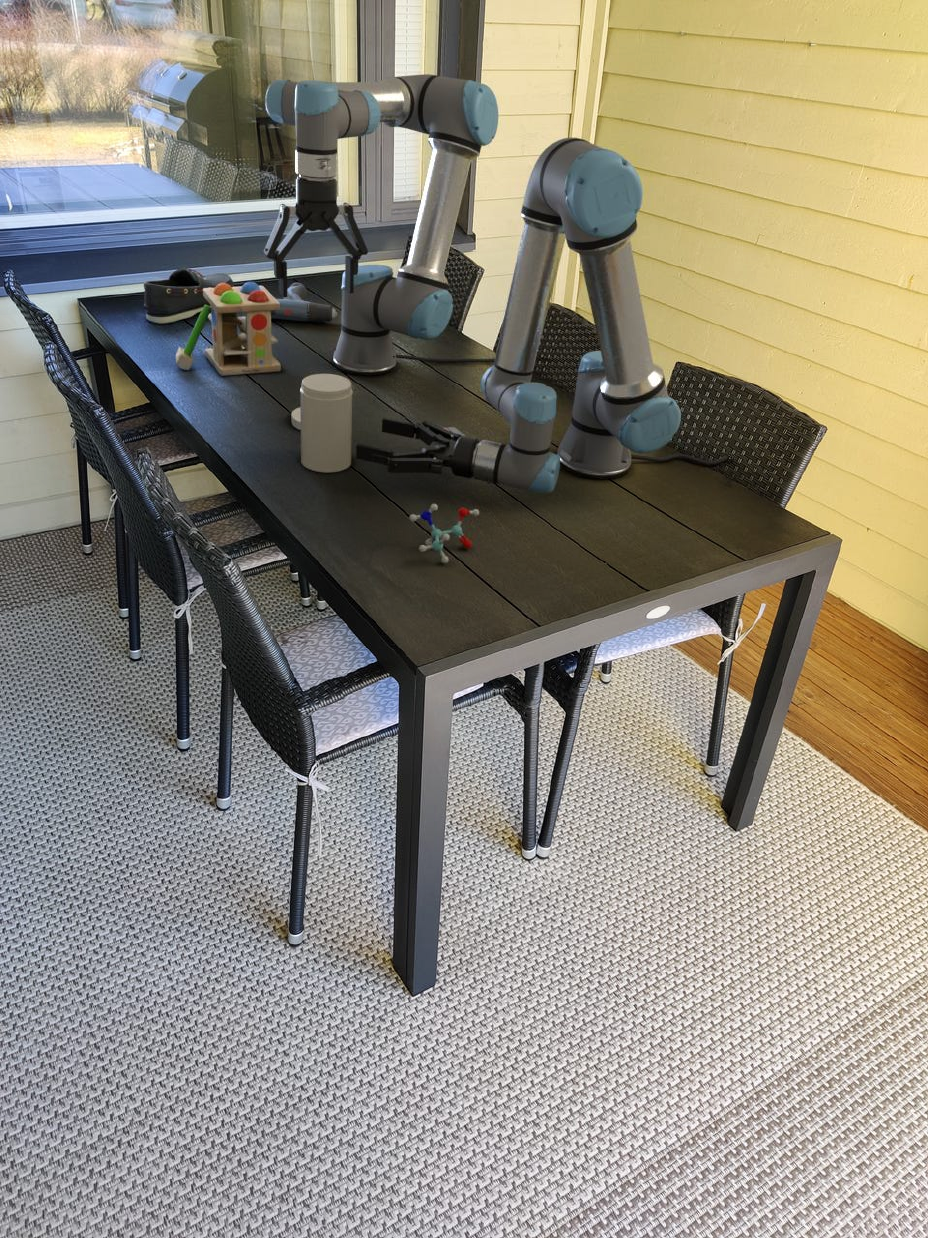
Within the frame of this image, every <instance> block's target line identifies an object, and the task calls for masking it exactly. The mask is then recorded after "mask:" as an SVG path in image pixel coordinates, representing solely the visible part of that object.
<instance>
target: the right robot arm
mask: <svg viewBox="0 0 928 1238" xmlns="http://www.w3.org/2000/svg"><path fill="white" fill-rule="evenodd" d="M643 195H644V193H643V185H642V181H641V177H640V175H639V173H638V171H637V170H636V168H635V166H634V165H633V164H631V162H630V161H628V160H627V159H626V158H625V157H623V156H622V155H621V154H619V153H618V152H616V151H614V150H611V149H607V148H603V147H602V146H599V145H597V144H594V143H592V142H590V141H588V140H586V139H583V138H579V137H564V138H560V139H559V140H556V141H554V142H552V143H551V144H550V145H549V146H547V147H546V148H545V149H544V150H543V151H542V152H541V154H540V155H539V156H538V158H537V159H536V161H535V163H534V166H533V167H532V170H531V172H530V175H529V179H528V181H527V185H526V189H525V193H524V196H523V202H522V206H521V209H520V216H521V218H522V220H523V221H524V225H523V228H522V233H521V237H520V243H519V246H518V247H519V248H518V252H517V257H516V261H515V265H514V270H513V273H512V274H513V276H512V278H511V279H512V280H511V283H510V288H509V293H508V298H507V301H506V302H507V303H506V307H505V311H504V315H503V320H502V325H501V328H500V329H501V330H500V334H499V338H498V343H497V347H496V353H495V357H494V358H495V361H494V362H493V365H492V366H490V367H489V368H487V370H486V371H485V372H484V374H483V375H482V378H481V380H480V381H481V382H480V388H481V392H482V394H483V395H484V397H485V399H486V401H487V402H488V403H489V404H490V406H491V407H493V408H494V409H495V410H496V411H497V412H498V413H499V414H500V415H501V416H502V418H503V420H505V421H506V422H507V423H508V424H509V426H510V434H509V442H508V444H505V443H501V442H497V441H493V440H487V439H482V440H481V441H480V440H479V438H476V437H471V436H466V435H465V436H462V435H460V434H456V433H452V432H450V431H448V430H446V429H444V428H445V427H442V426H439V425H437V424H435V423H433V422H430V421H429V420H425V419H424V420H422V421H421V422H417V423H412V422H408V421H402V420H396V419H392V418H391V419H390V418H386V417H382V419H381V433H385V434H388V435H389V434H390V435H393V436H394V435H395V436H400V437H404V438H410V439H414V440H415V441H417V440H420V441H421V442H423V443H424V444H425V445H426V447H423V448H422V449H421V450H420V449H419V450H410V451H400V452H394V451H393V450H392V449H385V448H381V447H376V446H371V445H365V444H360V443H357V444H356V445H355V452H356V453H355V459H356V460H360V461H364V462H370V463H373V464H379V465H384V466H387V472H388V473H389V474H433V475H442V474H443V467H444V468H450V469H451V472H452V475H453V476H456V477H459V478H465V479H472V478H474V480H475V481H479V482H480V481H481V482H485V483H486V484H488V485H490V484H495V485H500V486H504V487H509V488H514V489H519V490H523V491H527V492H528V493H536V494H546V495H547V494H550V493H552V492H553V491H554V489H555V488H556V485H557V482H558V478H559V473H560V469H561V468H562V469H563V470H565V471H567V472H569V473H570V474H573V475H576V476H580V477H583V478H587V479H593V480H612V479H619V478H621V477H624V476H626V475H627V474H628V473H629V472H630V471H631V467H632V466H631V465H632V460H640V461H647V462H655V463H662V462H663V463H664V462H667V461H670V460H675V459H681V460H687V461H690V462H693V463H696V464H699V465H702V466H716V465H719V464H721V463H722V462H725V461H726V460H728V461H730V462H731V463H737V460H736V459H735V458H734V457H733V458H734V459H733V458H731V459H727V456H726V455H723V456H721V457H720V458H717V459H714V460H703V459H699V458H697V457H695V456H691V455H688V454H683V453H674V454H669V455H666V456H662V457H655V456H648V455H646V454H651V453H654V452H657V451H658V450H661V449H662V448H664V447H665V446H666V445H667V444H669V442H670V441H672V439H673V437H674V435H675V434H677V432H678V430H679V427H680V424H681V421H682V414H681V409H680V407H679V405H678V404H677V402H676V400H675V399H673V398H672V397H670V396H669V393H668V389H667V384H666V377H665V372H664V369H663V368H662V367H661V366H660V365H658V364H656V363H655V362H654V361H653V356H652V350H651V345H650V340H649V339H650V338H649V334H648V333H649V332H648V329H647V328H648V327H647V324H646V317H645V312H644V307H643V302H642V296H641V292H640V291H641V290H640V285H639V280H638V275H637V270H636V269H637V268H636V264H635V257H634V254H633V248H632V242H631V239H632V237H633V236H634V235H635V233H636V232H637V230H638V222H637V217H638V215H637V214H638V212H639V210H641V207H642V204H643ZM565 242H566V244H567V247H568V249H570V250H572V251H573V252H575V253H577V254H578V255H579V258H580V259H579V260H580V264H581V269H582V273H583V279H584V282H585V287H586V292H587V296H588V301H589V305H590V309H591V310H590V311H591V314H592V318H593V323H594V327H595V332H596V337H597V341H598V346H599V350H594V351H593V350H592V351H590V352H587V353H585V354H584V355H582V356H581V359H580V362H579V366H578V369H577V378H576V385H575V391H574V398H573V405H572V412H571V413H572V414H571V420H570V424H569V426H568V428H567V430H566V432H565V434H564V436H563V438H562V440H561V442H560V444H559V446H558V448H557V451H556V453H554V452H551V444H552V443H551V442H552V437H553V430H554V425H555V418H556V415H557V399H558V395H557V392H556V391H555V389H554V388H553V387H551V386H550V385H546V384H545V383H541V382H531V381H532V377H533V374H534V373H533V372H534V368H535V363H536V359H537V356H538V355H537V352H539V348H540V343H541V339H542V336H543V331H544V327H545V324H546V320H547V315H548V310H549V306H550V303H551V299H552V295H553V291H554V287H555V282H556V278H557V275H558V271H559V266H560V263H561V258H562V254H563V251H564V246H565ZM631 452H633V453H635V454H632V453H631ZM640 454H641V455H640ZM644 454H645V455H644Z"/></svg>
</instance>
